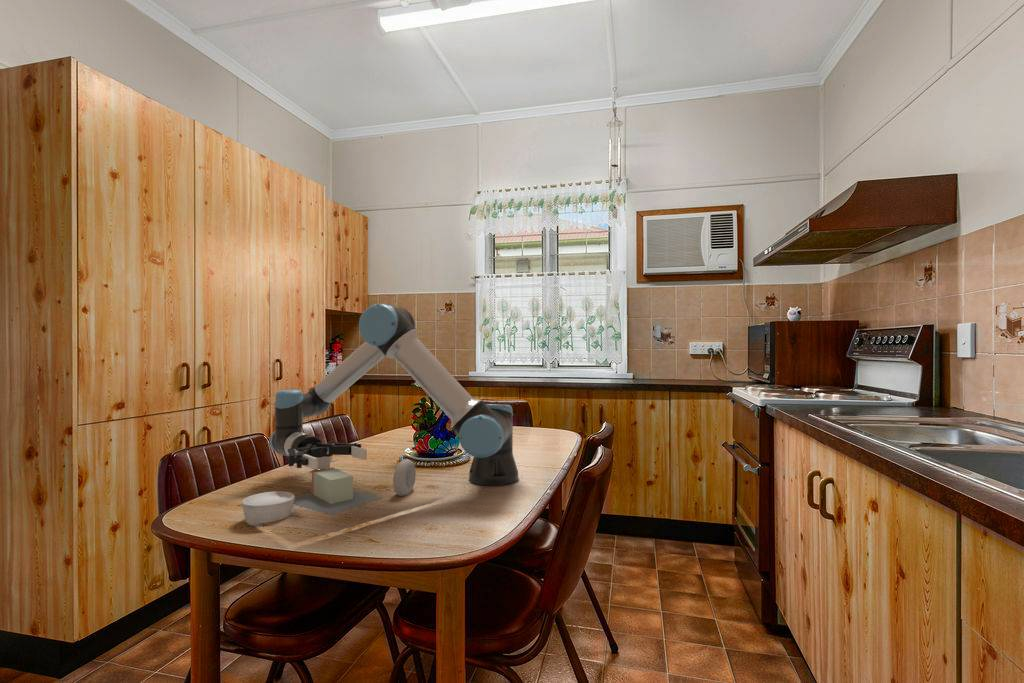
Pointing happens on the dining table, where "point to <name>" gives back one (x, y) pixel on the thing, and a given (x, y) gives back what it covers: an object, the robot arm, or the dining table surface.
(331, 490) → the sage block
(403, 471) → the grey wheel
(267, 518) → the ramekin
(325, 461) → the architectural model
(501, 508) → the dining table surface
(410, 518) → the dining table surface
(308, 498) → the slate mat
